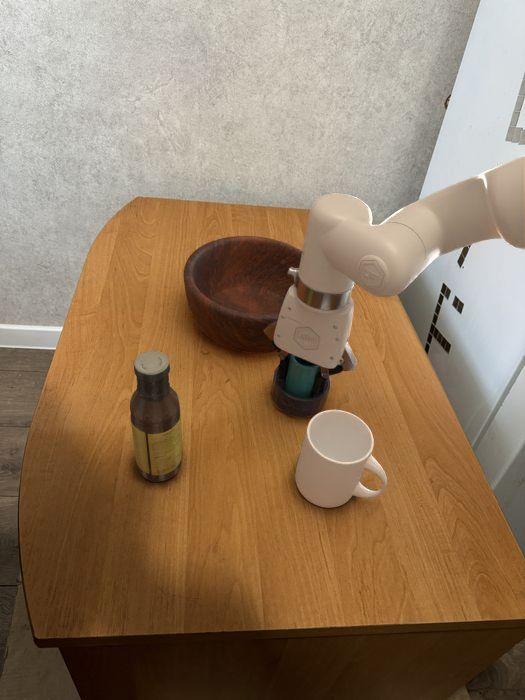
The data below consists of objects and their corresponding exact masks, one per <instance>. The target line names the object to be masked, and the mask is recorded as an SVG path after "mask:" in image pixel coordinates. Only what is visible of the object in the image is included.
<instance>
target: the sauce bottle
mask: <svg viewBox="0 0 525 700" xmlns="http://www.w3.org/2000/svg"><path fill="white" fill-rule="evenodd" d="M133 371H134V372H133V373H134V375H135V378H136V389H135V390H134V391H133V392H132V395H131V396H130V401H129V411H130V425H131V426H130V427H131V433H132V442H133V449H134V456H135V457H134V458H135V462H136V465H137V470H138V473H139V474H140V475H141V476H142V477H143V478H145V479H146V480H147V481H150V482H154V483H158V482H164V481H168V480H170V479H172V478H173V477H175V476H176V474H177V473H178V472H179V471H180V469H181V466H182V458H183V439H182V414H181V413H182V411H181V405H180V397H179V396H178V393H177V392H176V391H175V389H174V388H172V386H171V383H170V376H169V375H170V372H171V363H170V359H169V357H168V356H167V355H166V354H164V353H163V352H161V351H159V350H158V351H157V350H148V351H145V352H144V351H143V352H141V353H140V354H138V355H137V356H136V357H135V359H134V361H133Z"/></svg>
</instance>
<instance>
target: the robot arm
mask: <svg viewBox="0 0 525 700" xmlns="http://www.w3.org/2000/svg"><path fill="white" fill-rule="evenodd" d="M372 222H373V214H372V210H371V208H370V207H369V206H368V204H367V203H365V202H364V201H363V200H362V199H360V198H359V197H356V196H353V195H350V194H347V193H337V192H332V193H326V194H323V195H321V196H319V197H318V198H316V199H315V200H314V202H313V203H312V205H311V207H310V209H309V215H308V219H307V225H306V230H305V234H304V235H305V236H304V240H303V245H302V249H301V250H302V255H301V261H300V266H299V268H293V267H290V268H289V271H288V274H287V276H289V277H292V279H294V282H295V283H294V284H293V285H292V286H291V287H290V288H289V290H288V292H287V294H286V297H285V299H284V302H283V305H282V308H281V311H280V314H279V318H278V320H276V321H274V322H272V323H270V324H269V325H267V326H266V328H265V329H264V333H265V334H266V335H267V337H268V338H269V339H270V340H271V341H272V344H273V346H274V347H275V349H276V350H275V351H276V352H277V353H278V354H277V357H278V359H279V363H278V365H279V368H278V370H281V372H280V377H279V379H282V380H283V379H285V377H286V374H287V369H288V364H289V359H290V355H291V354H293V355H295V356H298V357H300V358H302V359H305V360H307V361H310V362H312V363H314V364H317V365H319V366H320V367H321V371H320V372H319V374H318V375H317V378H316V382H315V386H314V389H313V393H314V394H316V395H317V394H318V392H319V390H320V389H321V388H322V389H325V387H326V385H327V383H328V380H329V377H330V376H334V375H337V374H341V373H342V372H349V371H354V370H356V368H357V366H358V364H359V362H358V360H357V357H356V355H355V353H354V352H353V350H352V348H351V346H350V344H349V341H350V337H351V331H352V324H353V319H354V308H355V307H354V299H353V298H352V294H353V290H354V287H355V285H356V286H358V287H359V288H360V289H362V290H363V291H364V292H366V293H367V294H370V295H372V296H375V297H377V298H392V297H395V296H397V295H399V294H401V293H402V292H404V291H405V290H406V289H407V287H409V286H410V285H411V284H412V283H413V282H414V280H415V279H417V277H418V276H420V274H421V273H422V272H423V271H425V269H426V268H427V267H428V266H430V264H432V262H433V261H435V260H436V259H437V258H440V257H442V256H444V255H447V254H448V253H451V252H454V251H457V250H460V249H462V248H465V247H469V246H471V245H475V244H478V243H481V242H486V241H491V240H492V241H493V240H502V241H504V242H505V243H506V244H508V245H509V246H510V247H512V248H513V249H516V250H519V251H520V250H521V251H525V154H524V155H521V156H519V157H517V158H515V159H512V160H510V161H508V162H506V163H503V164H501V165H499V166H496V167H494V168H490V169H487V170H486V171H485V170H484V171H483V172H481V173H479V174H477V175H474V176H471V177H468V178H466V179H463V180H460V181H458V182H456V183H454V184H450V185H449V186H445V187H444V188H441V189H440V190H438V191H435V192H433V193H431V194H429V195H426V196H424V197H422V198H420V199H418V200H416V201H414V202H412V203H410V204H408V205H406V206H404V207H402V208H400V209H399V210H397V211H395V212H393V214H391V215H390V216H388V217H387V218H386V219H385V220H383V221H381V223H379V224H372Z"/></svg>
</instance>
